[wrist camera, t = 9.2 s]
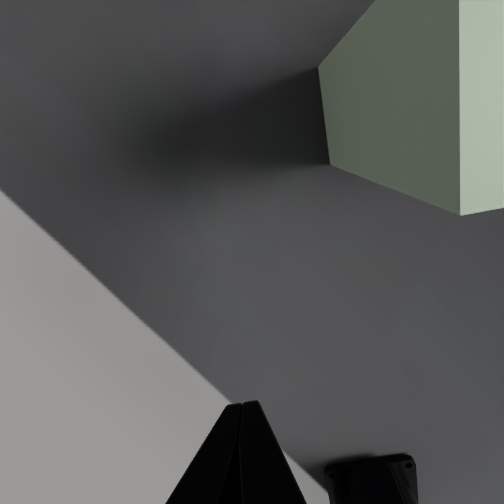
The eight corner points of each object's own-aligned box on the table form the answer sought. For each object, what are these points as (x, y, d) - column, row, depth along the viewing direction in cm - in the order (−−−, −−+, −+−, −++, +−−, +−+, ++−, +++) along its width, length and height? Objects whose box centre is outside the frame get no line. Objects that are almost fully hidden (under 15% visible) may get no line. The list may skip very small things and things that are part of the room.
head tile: (354, 58, 17) (586, -128, 5) (363, 157, 18) (558, 197, 6) (317, 66, 17) (458, -96, 5) (330, 164, 18) (460, 215, 7)
